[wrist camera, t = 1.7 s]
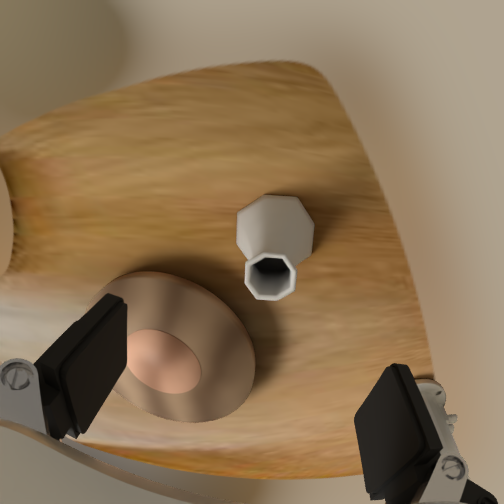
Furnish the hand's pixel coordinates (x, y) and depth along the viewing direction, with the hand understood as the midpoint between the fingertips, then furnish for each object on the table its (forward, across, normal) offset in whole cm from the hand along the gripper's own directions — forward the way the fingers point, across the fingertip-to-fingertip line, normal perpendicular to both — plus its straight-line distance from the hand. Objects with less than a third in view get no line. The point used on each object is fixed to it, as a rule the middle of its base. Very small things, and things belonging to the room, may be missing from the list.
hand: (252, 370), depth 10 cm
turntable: (+17, +8, +16) cm, 25 cm away
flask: (+19, 0, 0) cm, 19 cm away
